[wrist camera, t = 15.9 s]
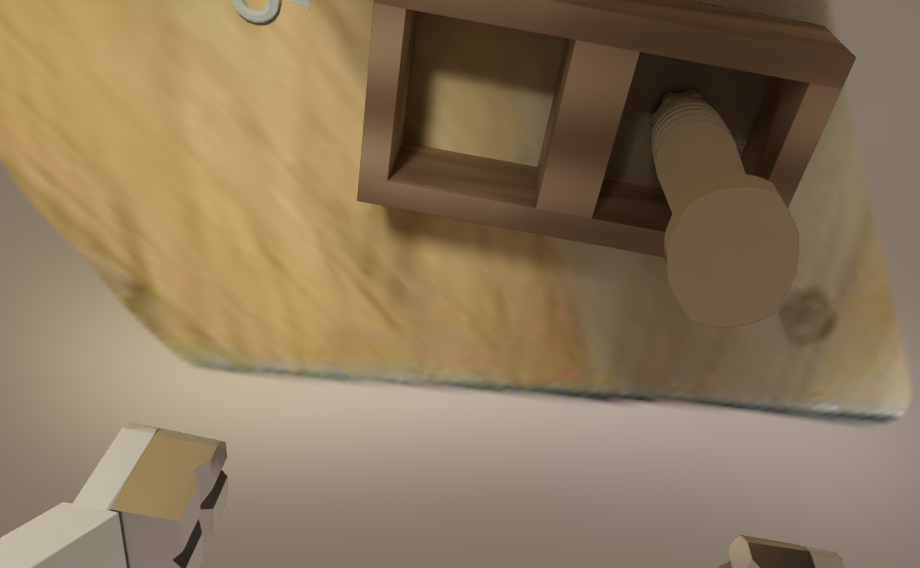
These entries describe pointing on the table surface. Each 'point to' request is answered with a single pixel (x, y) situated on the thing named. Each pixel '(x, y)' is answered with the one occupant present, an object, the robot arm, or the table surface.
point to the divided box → (593, 113)
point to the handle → (719, 219)
